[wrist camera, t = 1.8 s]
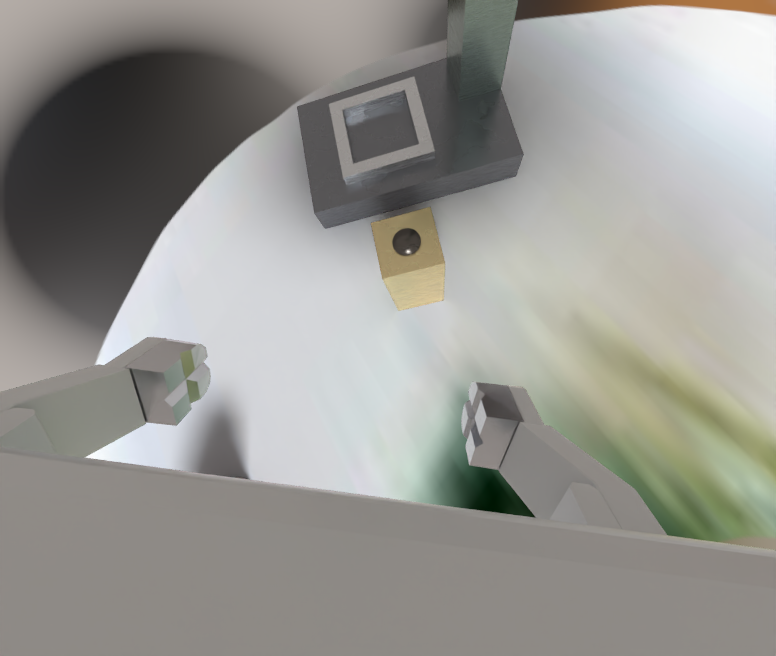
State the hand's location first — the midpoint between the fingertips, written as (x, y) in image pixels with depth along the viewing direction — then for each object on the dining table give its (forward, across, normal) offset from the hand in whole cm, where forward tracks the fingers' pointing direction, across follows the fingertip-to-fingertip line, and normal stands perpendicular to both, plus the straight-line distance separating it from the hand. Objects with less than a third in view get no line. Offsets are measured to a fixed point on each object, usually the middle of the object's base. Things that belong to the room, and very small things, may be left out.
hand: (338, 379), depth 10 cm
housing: (+22, -4, +4) cm, 22 cm away
